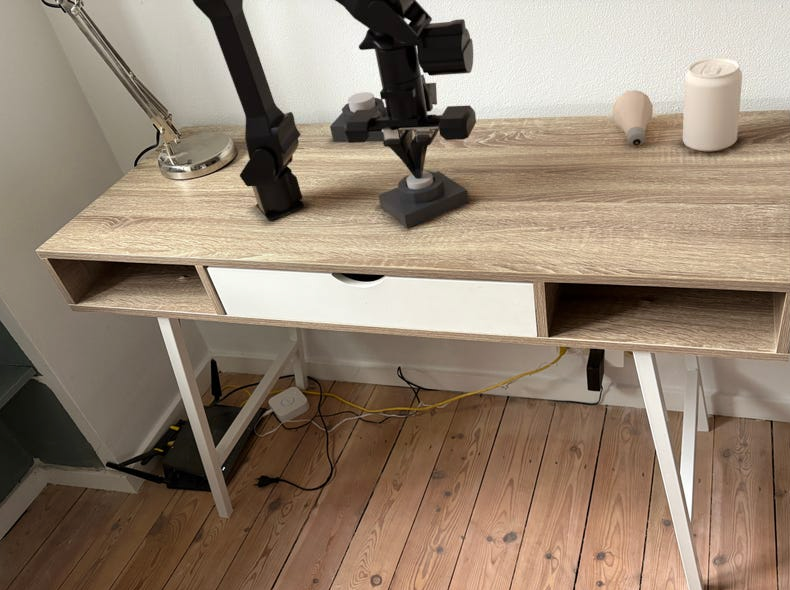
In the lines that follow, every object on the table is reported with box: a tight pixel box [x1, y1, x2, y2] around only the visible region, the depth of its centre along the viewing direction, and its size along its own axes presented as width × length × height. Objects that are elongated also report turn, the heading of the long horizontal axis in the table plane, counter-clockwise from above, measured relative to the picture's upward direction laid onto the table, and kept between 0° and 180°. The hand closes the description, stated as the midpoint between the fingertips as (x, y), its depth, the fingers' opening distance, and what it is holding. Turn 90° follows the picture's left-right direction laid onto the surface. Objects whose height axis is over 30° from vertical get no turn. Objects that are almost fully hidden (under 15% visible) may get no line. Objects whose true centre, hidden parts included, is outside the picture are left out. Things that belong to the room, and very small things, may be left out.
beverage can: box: [682, 57, 743, 153], centre depth 125 cm, size 8×8×12 cm
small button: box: [407, 170, 434, 189], centre depth 125 cm, size 4×4×2 cm
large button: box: [347, 91, 376, 112], centre depth 150 cm, size 5×5×2 cm
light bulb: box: [611, 90, 654, 148], centre depth 133 cm, size 7×7×11 cm
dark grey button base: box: [377, 170, 470, 229], centre depth 126 cm, size 11×9×4 cm
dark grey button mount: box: [329, 96, 388, 142], centre depth 152 cm, size 11×8×5 cm
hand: (419, 177), depth 125 cm, fingers closed, pressing on small button
